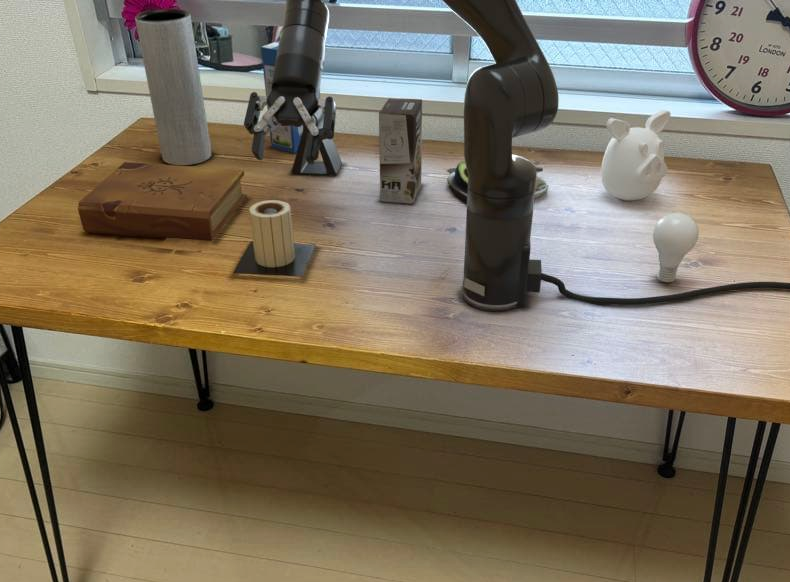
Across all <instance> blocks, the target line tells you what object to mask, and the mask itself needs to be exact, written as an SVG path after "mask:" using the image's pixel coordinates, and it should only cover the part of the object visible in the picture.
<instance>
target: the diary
mask: <svg viewBox="0 0 790 582" xmlns="http://www.w3.org/2000/svg"><path fill="white" fill-rule="evenodd" d="M244 176H245V170H244V169H237V168H222V167H207V166H206V167H205V166H193V165H184V166H180V165H172V164H160V163H159V164H158V163H147V162H146V163H145V162H144V163H143V162H129V161H124V162H123V163H122V164H120V166H118V167H117V168H116V169H115V170H114V171H113V172H111V173H110V174H109V175H107V177H106V178H105V179H103V180H102V181H101V182H100V183H99V184H98V185H96V186H95V187H94V188H93V189H92V190H90V192H89V193H88V194H86V195H85V196H84V197H83V198H81V199H80V200H79V201H78V206H77V211H78V215H79V218H80V222H81V226H82V230H83V231H84V232H85V233H88V234H102V235H114V236H127V237H139V238H150V239H151V238H152V239H164V240H166V239H167V238H175V239H176V238H177V239H188V240H189V239H190V240H191V239H192V240H203V241H213V240H214V239H215V238H216V236H217V235H218V234H219V233H220V231H221V230H222V229H223V228H224V226H225V225H226V223H227V222H228V221H229V220H230V218H231V217H232V215H233V214H234V213H235V211H236V210H238V208H239V207H240V205H245V203H246V201H247V200H248V194H247V193H243V191H242V181H241V180H242V178H243V177H244Z"/></svg>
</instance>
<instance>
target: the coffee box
mask: <svg viewBox="0 0 790 582" xmlns="http://www.w3.org/2000/svg"><path fill="white" fill-rule="evenodd" d="M422 142H423V99H420V98H388V99H387V100H386V102H385V103H384V105H383V106H382V108H381V109H380V111H379V112H378V143H379V145H378V146H379V147H378V148H379V149H378V151H379V201H380V202H386V203H398V204H407V205H412V204H414V203H415V200H416V197H417V196H418V194H419V191H420V189H421V187H422V170H423V169H422V167H423V166H422V163H423V162H422V157H423V156H422V155H423V154H422V153H423V152H422V146H423V145H422Z"/></svg>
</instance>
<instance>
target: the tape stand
mask: <svg viewBox="0 0 790 582" xmlns="http://www.w3.org/2000/svg"><path fill="white" fill-rule="evenodd" d="M272 213H277V210H276V209H273V208H269V209H265V210H264V214H272ZM315 247H316V243H299V242H298V243H296V242H294V249H295V258H294V261H292V262H291V263H289V264H288V265H285V266H281V267H264V266H262V265H259V264H258V263H257V261H256V260H255V252H254V245H253V240H251V241H250V242H249V244H248V246H247V247H246V249H245V251H244V253H243V254H242V256H241V258H240V260H239V261H238V263H237V265H236V267H235V269H234V270H233V272H232V274H238V275H258V276H276V277H277V276H279V277H296V278H298V277H299V278H302V277H303V275H304V273H305V271H306V269H307V266H308V264H309V261H310V259H311V257H312V254H313V251H314V250H315Z"/></svg>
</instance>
